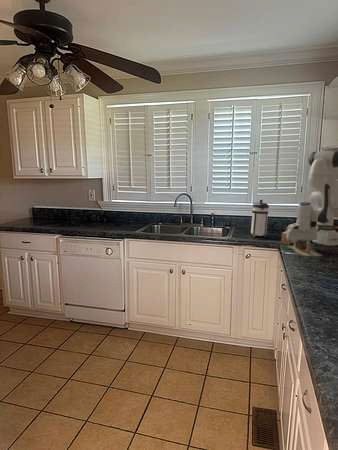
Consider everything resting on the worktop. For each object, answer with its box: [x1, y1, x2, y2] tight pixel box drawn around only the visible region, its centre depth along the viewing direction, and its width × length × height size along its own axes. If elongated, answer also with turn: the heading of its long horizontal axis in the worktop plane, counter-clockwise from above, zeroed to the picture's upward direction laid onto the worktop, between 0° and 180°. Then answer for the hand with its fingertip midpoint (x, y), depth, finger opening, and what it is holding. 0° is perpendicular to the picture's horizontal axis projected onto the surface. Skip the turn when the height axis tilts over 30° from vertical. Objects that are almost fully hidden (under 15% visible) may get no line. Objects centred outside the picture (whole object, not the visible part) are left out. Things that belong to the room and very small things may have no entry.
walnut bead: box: [293, 240, 307, 249], centre depth 213 cm, size 6×6×4 cm
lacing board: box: [287, 241, 324, 259], centre depth 206 cm, size 14×24×8 cm, turn 1°
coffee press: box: [249, 199, 270, 239], centre depth 252 cm, size 17×16×30 cm
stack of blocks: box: [280, 226, 299, 245], centre depth 231 cm, size 21×6×12 cm, turn 142°
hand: (300, 246), depth 213 cm, fingers closed on walnut bead, 6 cm apart
